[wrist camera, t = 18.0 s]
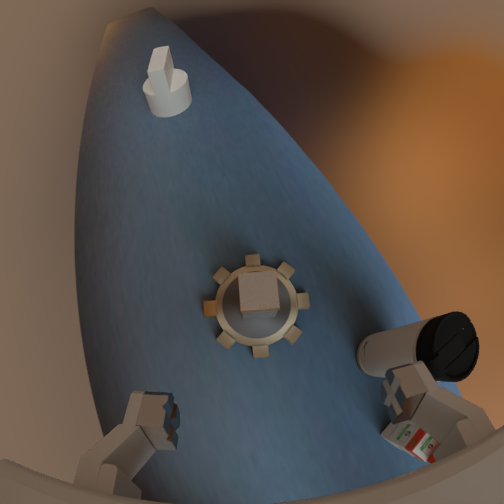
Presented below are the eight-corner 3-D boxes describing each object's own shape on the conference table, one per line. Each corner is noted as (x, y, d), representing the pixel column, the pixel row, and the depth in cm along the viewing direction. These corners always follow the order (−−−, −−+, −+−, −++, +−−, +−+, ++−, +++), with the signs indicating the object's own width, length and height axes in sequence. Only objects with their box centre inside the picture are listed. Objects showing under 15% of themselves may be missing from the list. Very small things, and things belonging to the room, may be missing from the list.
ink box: (378, 434, 34) (430, 460, 20) (412, 392, 36) (473, 399, 22) (393, 446, 33) (446, 473, 19) (426, 405, 35) (487, 414, 21)
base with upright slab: (152, 93, 56) (139, 51, 45) (192, 86, 56) (184, 42, 45) (147, 120, 53) (130, 76, 42) (191, 113, 53) (180, 66, 42)
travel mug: (346, 348, 38) (420, 337, 19) (383, 325, 39) (469, 295, 20) (365, 385, 36) (447, 400, 17) (401, 361, 37) (493, 353, 18)
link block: (274, 317, 38) (280, 307, 31) (243, 320, 38) (240, 311, 30) (271, 287, 40) (276, 270, 32) (240, 289, 39) (237, 273, 32)
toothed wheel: (312, 351, 38) (315, 351, 37) (208, 360, 38) (206, 360, 36) (300, 254, 43) (302, 249, 41) (203, 261, 43) (201, 257, 41)
